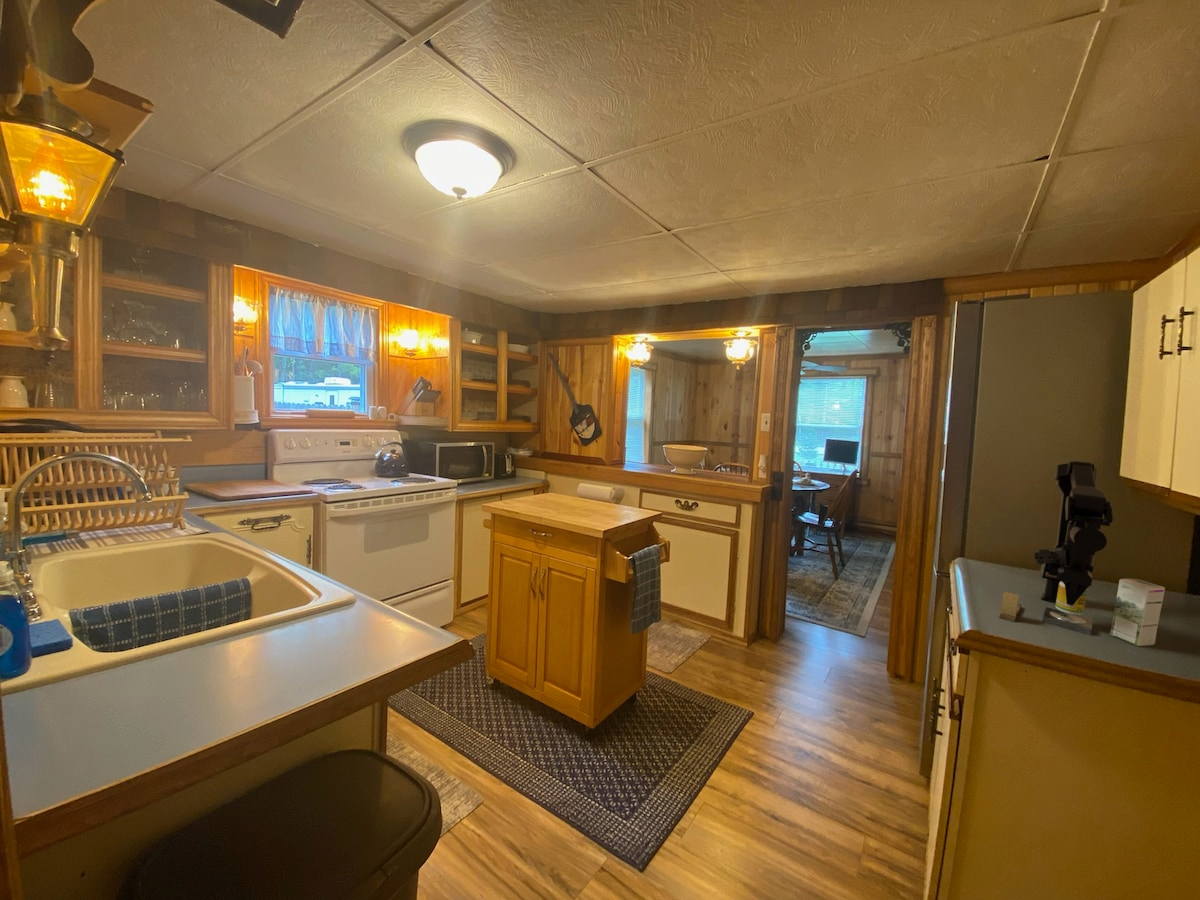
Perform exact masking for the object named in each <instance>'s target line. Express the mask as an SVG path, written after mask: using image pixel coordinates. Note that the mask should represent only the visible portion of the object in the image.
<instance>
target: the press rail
mask: <svg viewBox="0 0 1200 900" xmlns="http://www.w3.org/2000/svg"><path fill="white" fill-rule="evenodd" d="M1021 608H1022V603H1019V602H1018V609H1017V614H1016V616H1015V617H1014V616H1010V615H1006V614H1003V613H1001V612H1000V614H999V619H1002V618H1003V619H1002V620H1006V621H1009V620H1010V621H1009V622H1013V623H1015V621H1016V619H1017V617H1018V615H1019V613H1020V610H1021Z"/></svg>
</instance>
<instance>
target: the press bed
mask: <svg viewBox="0 0 1200 900" xmlns="http://www.w3.org/2000/svg"><path fill="white" fill-rule="evenodd" d="M1042 623H1045V624H1048V623H1049V624H1050V625H1053V626H1055V627H1058V628H1059V627H1060V628H1063V629H1068V630H1072V631H1075V632H1079V633H1082V634H1085V635H1088V636H1089V635H1090V636H1091V635H1092V628H1093V618H1090V617H1087V616H1082V615H1072V614H1068V613H1065V612H1062V611H1060V610H1058V609H1057V608H1056V609H1054V608H1051V607H1048V606H1046V607H1045V609H1044V613H1043V616H1042Z"/></svg>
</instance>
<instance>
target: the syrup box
mask: <svg viewBox="0 0 1200 900" xmlns="http://www.w3.org/2000/svg"><path fill="white" fill-rule="evenodd" d="M1165 590H1166V587H1164V586H1161V585H1158V584H1155V583H1151V582H1148V581H1145V580H1141V579H1139V578H1130V577H1129V578H1121V579H1119V582H1118V588H1117V593H1116V599H1115V606H1114V609H1113V611H1114V612H1113V617H1112V621H1111V626H1110V627H1111V629H1110V632H1109V635H1110V636H1111V637H1115V638H1118V639H1120V640H1122V641H1124V642H1127V643H1130V644H1132V645H1135V646H1137V647H1138V646H1139V647H1140V646H1141V647H1142V646H1143V647H1144V646H1154V645H1155V644H1156V638H1157V631H1158V626H1159V622H1160V621H1159V620H1160V615H1161V610H1162V606H1163V602H1164V596H1165Z"/></svg>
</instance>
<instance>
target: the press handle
mask: <svg viewBox="0 0 1200 900" xmlns="http://www.w3.org/2000/svg"><path fill="white" fill-rule="evenodd" d="M1020 596H1021V595H1019V594H1016V593H1011V592H1009V591H1004V592H1003V595H1002V600H1001V601H1002V602H1001V606H1000V613H1003V614H1006V615H1010V616H1014V617H1015V616H1016V614H1017V609H1018V603H1019V602H1020Z"/></svg>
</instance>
